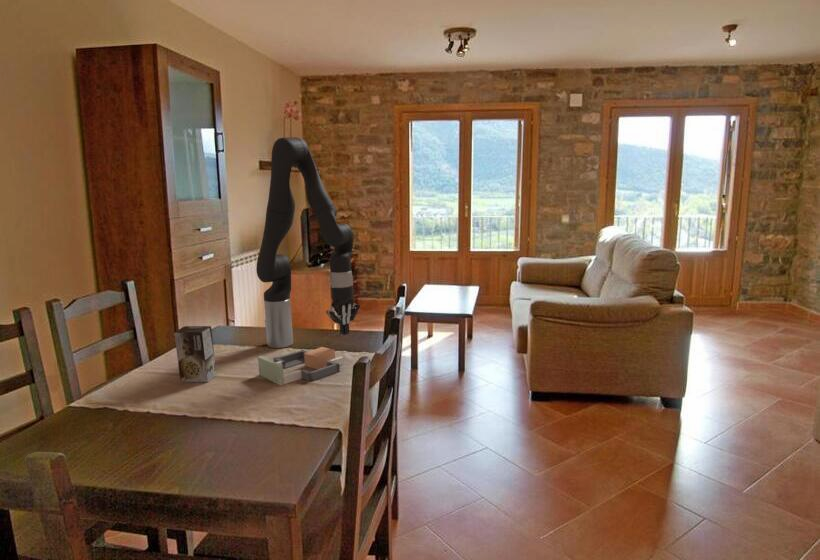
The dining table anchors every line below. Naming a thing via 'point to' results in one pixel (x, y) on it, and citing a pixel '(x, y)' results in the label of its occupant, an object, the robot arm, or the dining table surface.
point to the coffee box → (195, 353)
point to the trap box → (275, 371)
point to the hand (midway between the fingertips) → (344, 334)
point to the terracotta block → (318, 357)
